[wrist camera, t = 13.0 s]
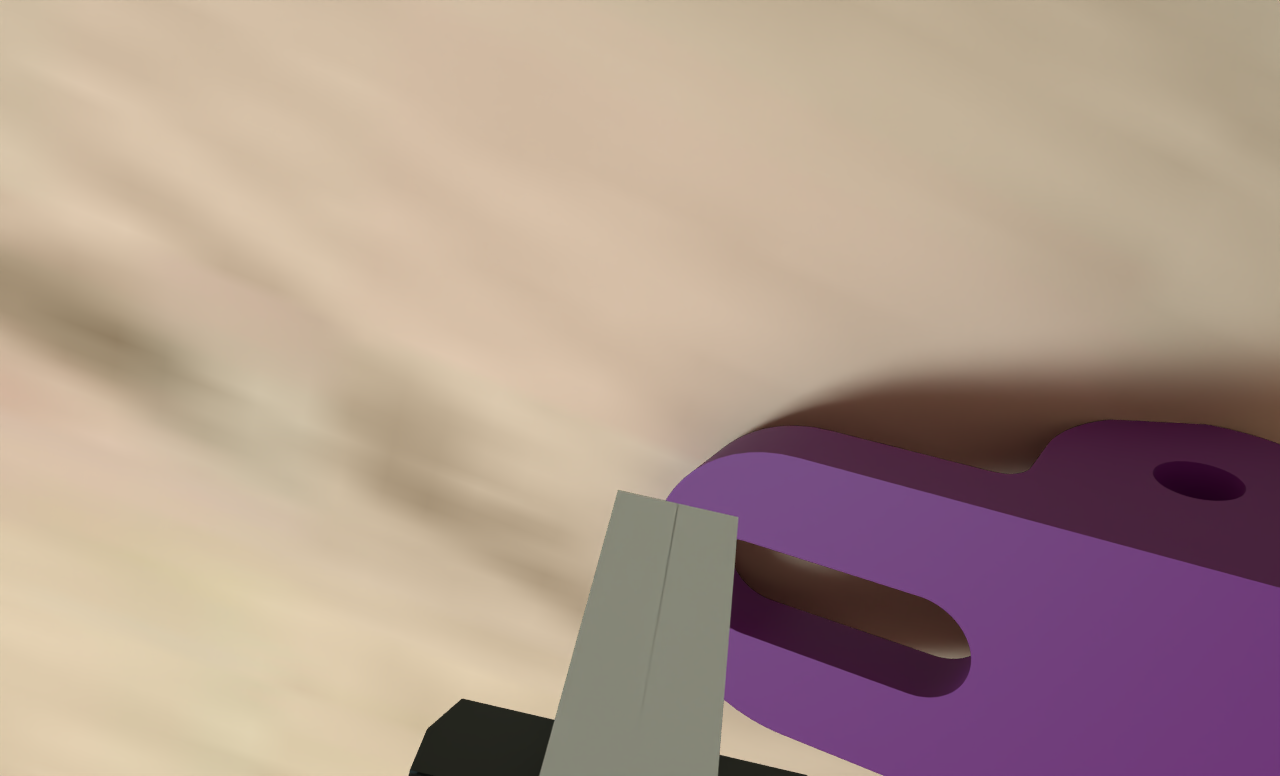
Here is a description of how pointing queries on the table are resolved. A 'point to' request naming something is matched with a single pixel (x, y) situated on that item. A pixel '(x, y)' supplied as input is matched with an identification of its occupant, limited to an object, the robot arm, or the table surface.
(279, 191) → the table surface
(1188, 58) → the table surface
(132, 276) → the table surface
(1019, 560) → the mounting bracket
